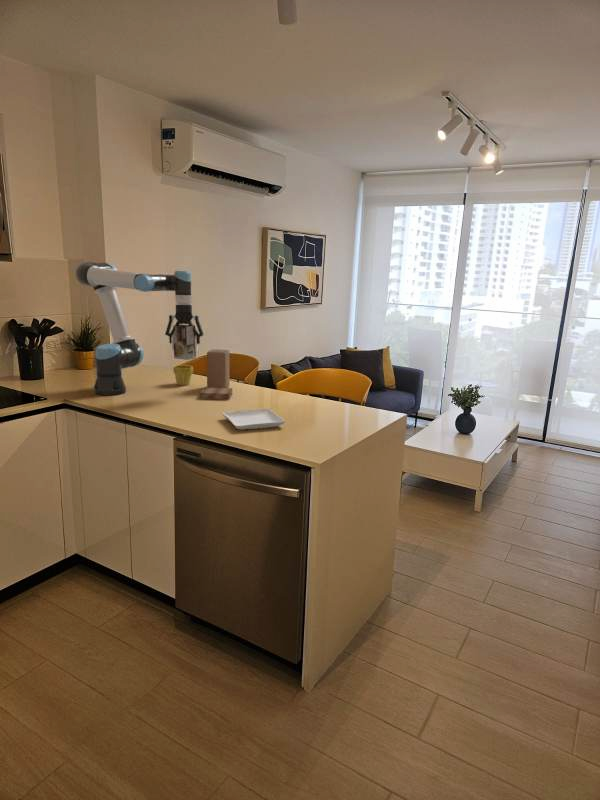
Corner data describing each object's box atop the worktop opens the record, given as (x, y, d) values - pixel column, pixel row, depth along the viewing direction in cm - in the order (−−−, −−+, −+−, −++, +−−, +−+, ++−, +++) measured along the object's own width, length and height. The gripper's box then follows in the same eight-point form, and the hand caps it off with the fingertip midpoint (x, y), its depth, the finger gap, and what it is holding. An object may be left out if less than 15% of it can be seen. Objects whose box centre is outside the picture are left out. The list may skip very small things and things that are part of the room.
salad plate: (235, 433, 208) (235, 425, 208) (221, 419, 227) (221, 411, 226) (286, 429, 217) (286, 420, 216) (268, 415, 236) (268, 408, 235)
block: (229, 386, 288) (230, 349, 284) (225, 390, 279) (225, 352, 274) (211, 385, 289) (211, 348, 285) (206, 389, 280) (206, 351, 275)
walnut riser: (200, 398, 260) (200, 392, 259) (204, 393, 271) (204, 387, 271) (229, 399, 260) (229, 393, 259) (232, 394, 271) (232, 388, 271)
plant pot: (197, 384, 292) (197, 366, 290) (183, 387, 284) (183, 368, 282) (183, 381, 298) (183, 364, 295) (169, 384, 289) (169, 366, 287)
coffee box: (196, 358, 261) (195, 325, 258) (187, 360, 256) (186, 326, 252) (183, 356, 266) (182, 324, 262) (173, 358, 261) (172, 324, 257)
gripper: (157, 304, 252) (159, 350, 257) (206, 305, 251) (207, 352, 256) (161, 303, 259) (163, 348, 264) (209, 304, 259) (210, 349, 264)
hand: (184, 350), depth 260 cm, fingers closed on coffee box, 10 cm apart
